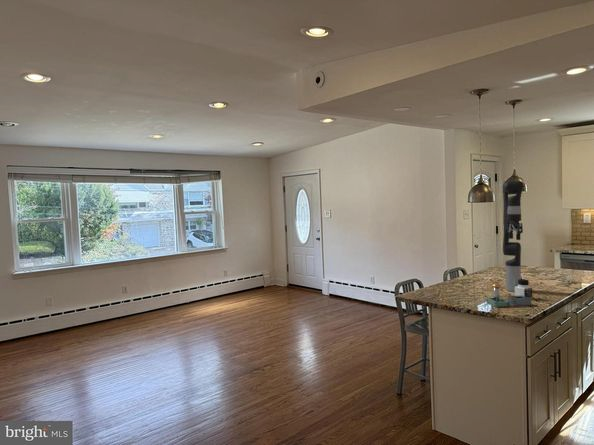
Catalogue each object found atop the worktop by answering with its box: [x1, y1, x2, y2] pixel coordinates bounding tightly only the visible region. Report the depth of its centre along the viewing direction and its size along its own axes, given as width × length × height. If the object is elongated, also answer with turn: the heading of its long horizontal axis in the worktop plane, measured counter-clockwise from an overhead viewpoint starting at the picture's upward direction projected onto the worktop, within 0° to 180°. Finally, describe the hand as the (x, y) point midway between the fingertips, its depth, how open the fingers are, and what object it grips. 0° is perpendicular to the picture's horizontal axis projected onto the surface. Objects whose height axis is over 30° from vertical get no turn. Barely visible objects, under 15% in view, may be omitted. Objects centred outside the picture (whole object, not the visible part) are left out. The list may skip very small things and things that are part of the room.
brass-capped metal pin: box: [491, 283, 501, 302], centre depth 250 cm, size 4×4×11 cm
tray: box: [486, 296, 510, 308], centre depth 248 cm, size 12×8×3 cm, turn 0°
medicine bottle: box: [514, 278, 533, 300], centre depth 262 cm, size 7×7×12 cm
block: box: [507, 295, 532, 307], centre depth 248 cm, size 9×9×4 cm
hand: (514, 239), depth 256 cm, fingers open, 8 cm apart
